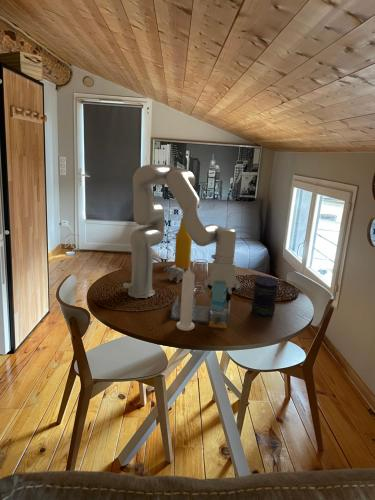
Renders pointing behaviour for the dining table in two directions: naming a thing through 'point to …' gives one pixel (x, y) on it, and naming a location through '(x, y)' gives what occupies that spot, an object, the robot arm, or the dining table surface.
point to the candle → (187, 301)
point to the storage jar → (264, 297)
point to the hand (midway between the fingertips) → (220, 300)
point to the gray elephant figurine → (175, 272)
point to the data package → (219, 297)
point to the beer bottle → (182, 247)
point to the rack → (203, 314)
